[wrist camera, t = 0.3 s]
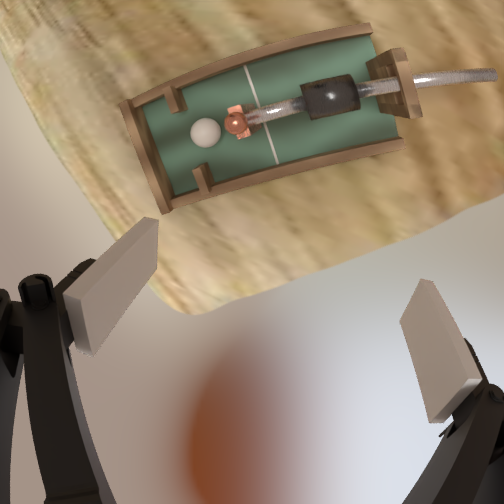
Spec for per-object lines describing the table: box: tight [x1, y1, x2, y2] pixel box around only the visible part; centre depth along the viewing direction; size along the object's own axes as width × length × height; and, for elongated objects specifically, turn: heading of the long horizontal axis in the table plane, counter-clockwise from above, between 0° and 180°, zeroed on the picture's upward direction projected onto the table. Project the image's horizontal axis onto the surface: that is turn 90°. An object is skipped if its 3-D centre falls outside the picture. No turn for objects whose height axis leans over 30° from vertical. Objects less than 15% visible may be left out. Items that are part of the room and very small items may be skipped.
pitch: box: [119, 23, 423, 215], centre depth 30 cm, size 15×30×12 cm, turn 108°
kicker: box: [224, 68, 498, 140], centre depth 26 cm, size 3×27×11 cm, turn 108°
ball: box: [190, 118, 221, 148], centre depth 34 cm, size 4×4×4 cm
